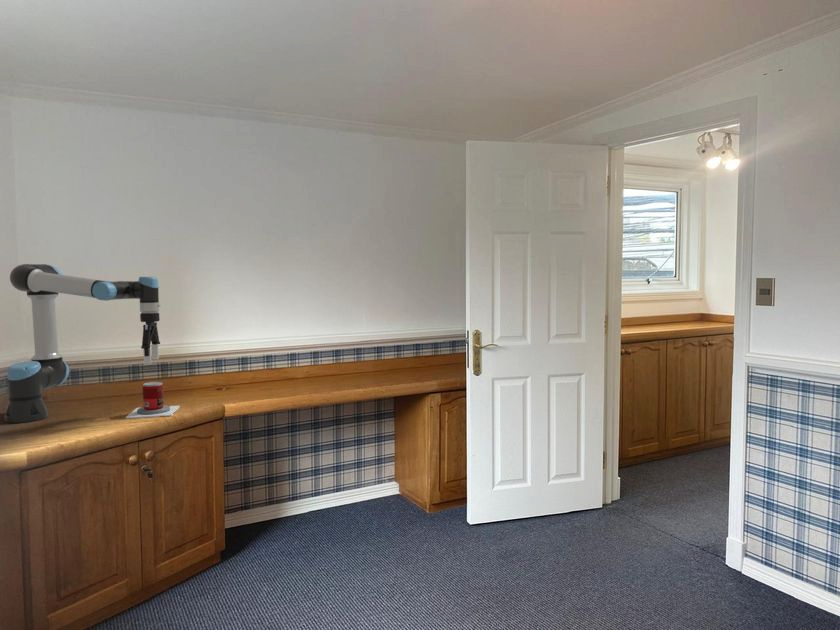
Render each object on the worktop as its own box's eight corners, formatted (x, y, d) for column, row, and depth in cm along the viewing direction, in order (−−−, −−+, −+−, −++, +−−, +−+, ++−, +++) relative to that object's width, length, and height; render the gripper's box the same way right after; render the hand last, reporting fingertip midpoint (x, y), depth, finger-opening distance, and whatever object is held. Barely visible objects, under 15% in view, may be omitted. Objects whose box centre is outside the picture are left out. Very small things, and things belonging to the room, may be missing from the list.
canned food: (162, 409, 254) (161, 384, 253) (141, 410, 251) (140, 385, 251) (164, 405, 261) (163, 381, 260) (145, 407, 259) (144, 382, 258)
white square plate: (125, 418, 246) (125, 414, 246) (137, 409, 263) (136, 405, 263) (171, 416, 249) (171, 411, 249) (179, 406, 267) (179, 402, 267)
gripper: (152, 314, 242) (154, 365, 243) (165, 310, 266) (166, 357, 268) (132, 314, 240) (134, 366, 242) (147, 310, 265) (149, 357, 266)
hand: (151, 361), depth 255 cm, fingers open, 13 cm apart
